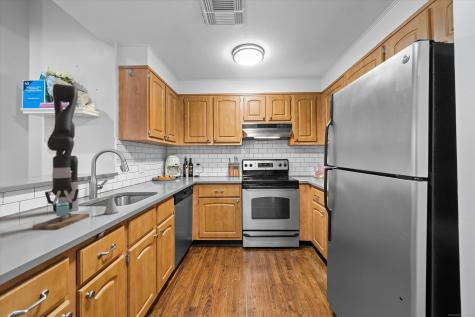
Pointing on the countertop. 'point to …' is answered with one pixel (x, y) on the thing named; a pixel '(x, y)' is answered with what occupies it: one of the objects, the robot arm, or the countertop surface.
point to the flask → (111, 206)
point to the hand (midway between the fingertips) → (62, 210)
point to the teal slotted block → (62, 209)
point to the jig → (61, 221)
